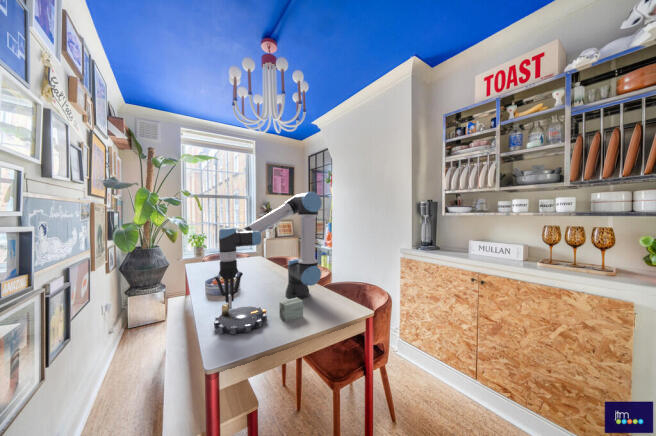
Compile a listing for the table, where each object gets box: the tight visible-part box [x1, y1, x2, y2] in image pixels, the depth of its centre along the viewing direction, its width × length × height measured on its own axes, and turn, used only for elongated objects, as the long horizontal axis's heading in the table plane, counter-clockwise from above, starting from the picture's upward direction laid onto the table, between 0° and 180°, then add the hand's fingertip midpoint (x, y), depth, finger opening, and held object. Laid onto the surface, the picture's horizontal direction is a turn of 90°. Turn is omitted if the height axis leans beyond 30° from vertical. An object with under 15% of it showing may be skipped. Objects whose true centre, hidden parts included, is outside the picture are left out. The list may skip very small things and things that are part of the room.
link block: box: [279, 297, 304, 323], centre depth 113 cm, size 6×10×8 cm, turn 127°
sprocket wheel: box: [213, 303, 268, 335], centre depth 107 cm, size 23×23×7 cm
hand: (229, 308), depth 110 cm, fingers closed
